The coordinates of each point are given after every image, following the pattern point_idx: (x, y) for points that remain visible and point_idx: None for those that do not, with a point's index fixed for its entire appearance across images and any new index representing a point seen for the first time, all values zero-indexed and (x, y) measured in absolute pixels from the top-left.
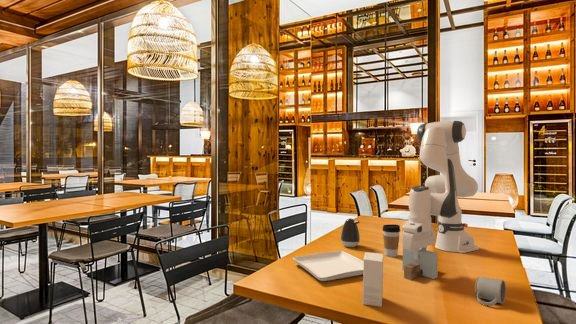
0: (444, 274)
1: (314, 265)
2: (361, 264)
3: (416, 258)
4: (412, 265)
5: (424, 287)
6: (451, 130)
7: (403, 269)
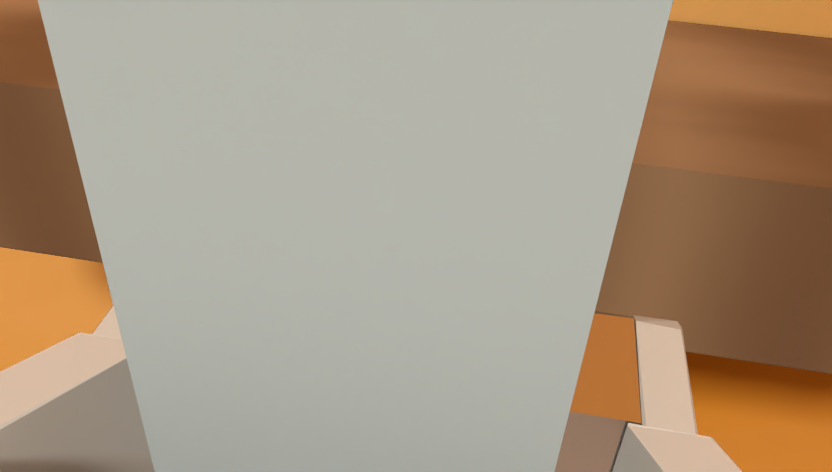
0: (779, 388)
1: None
2: None
3: None
4: (26, 199)
5: (17, 319)
6: None
7: None
